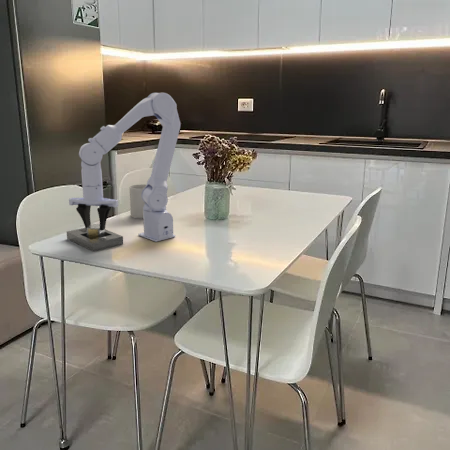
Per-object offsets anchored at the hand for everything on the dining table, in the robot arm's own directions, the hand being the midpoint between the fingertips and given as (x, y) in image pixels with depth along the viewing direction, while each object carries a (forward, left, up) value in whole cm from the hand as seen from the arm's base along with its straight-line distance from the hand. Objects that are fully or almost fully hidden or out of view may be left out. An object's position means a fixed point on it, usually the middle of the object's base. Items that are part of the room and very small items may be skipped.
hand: (95, 229), depth 137 cm
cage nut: (0, 0, -3) cm, 3 cm away
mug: (+15, -29, -4) cm, 33 cm away
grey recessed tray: (+1, 0, -4) cm, 4 cm away
